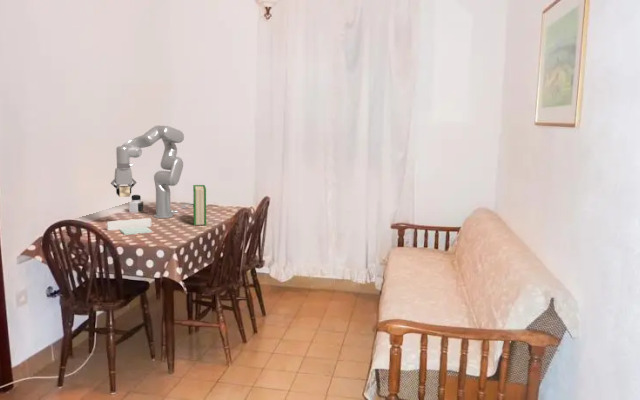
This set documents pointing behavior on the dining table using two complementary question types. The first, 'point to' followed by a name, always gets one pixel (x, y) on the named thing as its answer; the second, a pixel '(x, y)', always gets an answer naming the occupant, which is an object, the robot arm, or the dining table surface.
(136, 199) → the medicine bottle
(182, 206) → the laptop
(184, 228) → the dining table surface
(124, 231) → the sage mat
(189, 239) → the dining table surface
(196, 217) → the hardback book
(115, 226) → the off-white screen
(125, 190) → the maple letter block
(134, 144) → the robot arm
